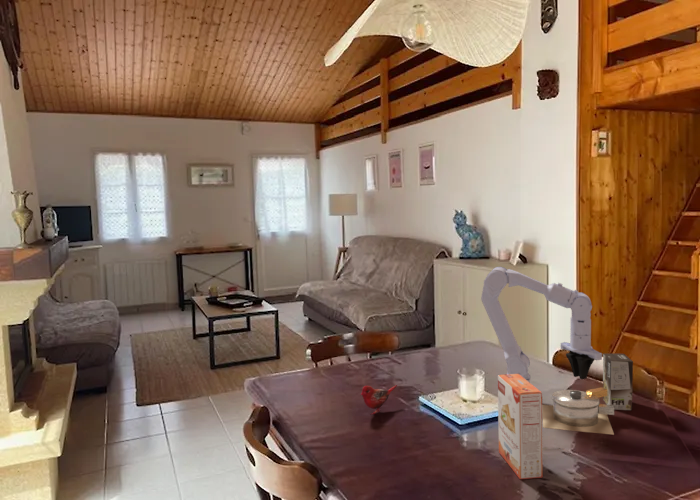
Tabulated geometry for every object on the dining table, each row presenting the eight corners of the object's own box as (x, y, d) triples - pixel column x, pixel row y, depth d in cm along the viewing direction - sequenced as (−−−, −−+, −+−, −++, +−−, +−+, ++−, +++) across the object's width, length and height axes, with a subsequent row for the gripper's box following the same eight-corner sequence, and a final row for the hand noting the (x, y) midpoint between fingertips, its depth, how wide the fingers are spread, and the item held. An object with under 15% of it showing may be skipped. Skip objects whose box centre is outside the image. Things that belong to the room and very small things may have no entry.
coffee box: (632, 414, 162) (633, 361, 161) (609, 413, 164) (610, 360, 162) (624, 403, 171) (624, 353, 170) (602, 402, 173) (602, 352, 171)
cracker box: (496, 453, 140) (496, 373, 138) (519, 451, 140) (519, 372, 138) (518, 480, 126) (518, 392, 124) (543, 478, 126) (543, 391, 125)
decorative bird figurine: (357, 419, 164) (356, 386, 164) (394, 402, 177) (393, 372, 176) (365, 421, 162) (364, 388, 162) (401, 404, 175) (400, 374, 175)
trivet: (543, 431, 152) (543, 427, 152) (541, 408, 169) (541, 404, 169) (614, 438, 146) (614, 434, 146) (605, 413, 163) (605, 410, 163)
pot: (554, 424, 154) (554, 407, 153) (552, 409, 165) (552, 393, 165) (616, 430, 149) (616, 412, 148) (610, 414, 160) (610, 397, 160)
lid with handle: (575, 411, 149) (575, 402, 149) (542, 397, 161) (542, 388, 160) (622, 401, 155) (622, 393, 155) (587, 388, 167) (587, 380, 167)
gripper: (610, 337, 159) (609, 382, 160) (572, 327, 173) (572, 369, 174) (591, 339, 157) (591, 385, 158) (555, 329, 170) (555, 372, 171)
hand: (580, 377), depth 165 cm, fingers closed
